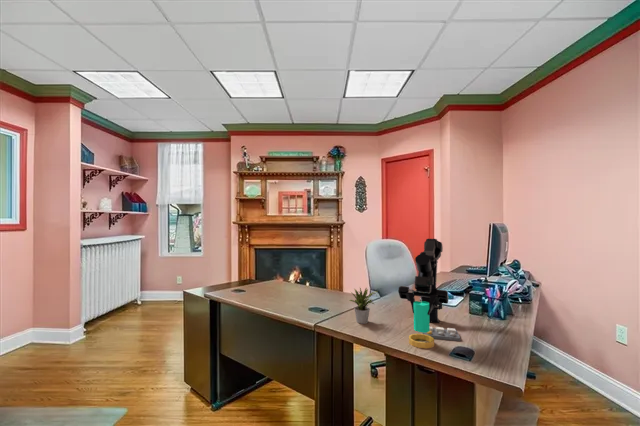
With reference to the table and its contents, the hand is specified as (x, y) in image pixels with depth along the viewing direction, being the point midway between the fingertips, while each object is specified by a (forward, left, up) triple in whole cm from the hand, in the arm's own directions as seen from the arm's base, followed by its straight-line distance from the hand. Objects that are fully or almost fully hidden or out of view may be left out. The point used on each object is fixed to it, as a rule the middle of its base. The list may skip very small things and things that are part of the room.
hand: (420, 313), depth 118 cm
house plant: (-19, -25, -12) cm, 34 cm away
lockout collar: (-1, 0, -12) cm, 12 cm away
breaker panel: (-12, +8, -12) cm, 19 cm away
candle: (-1, 0, -7) cm, 7 cm away
